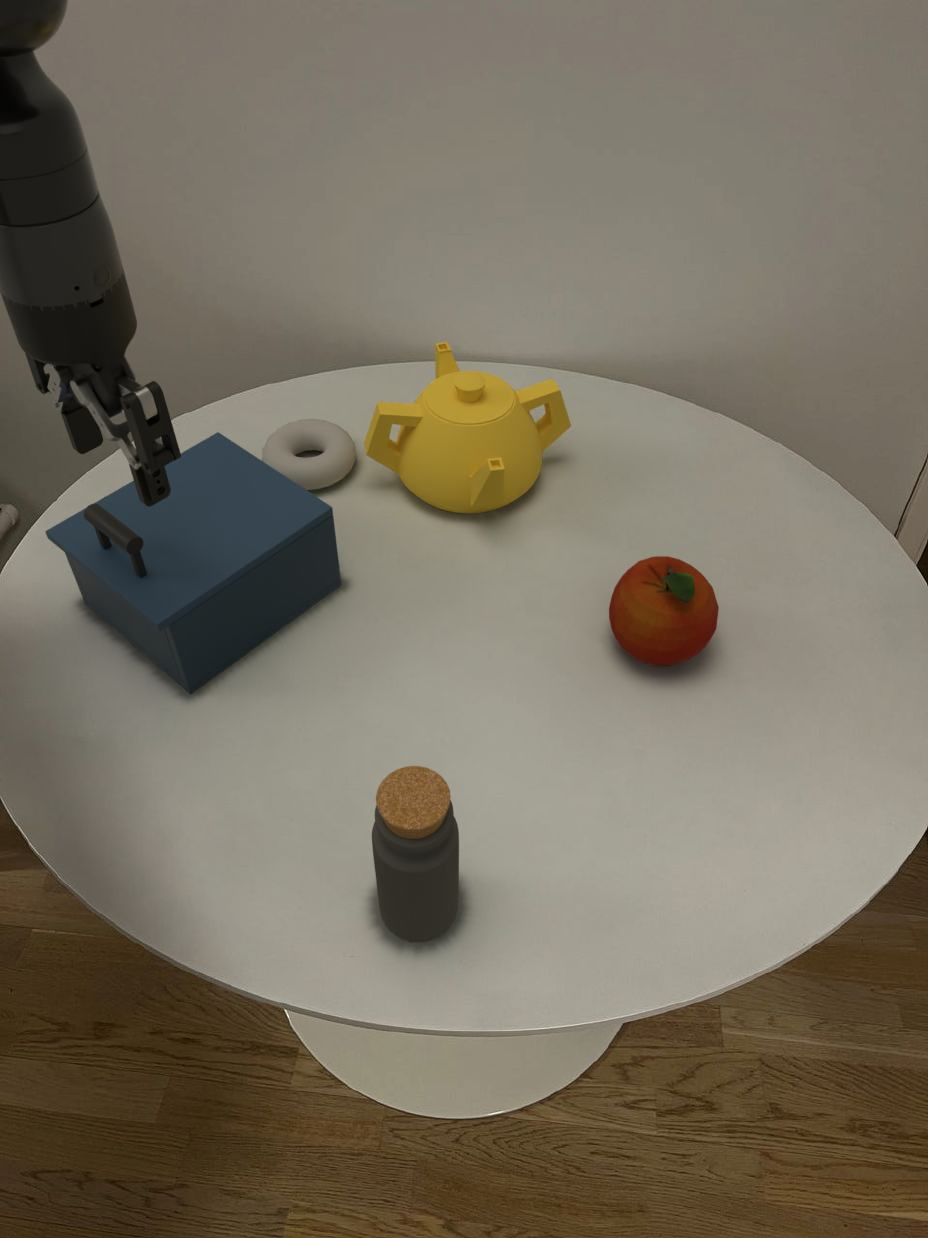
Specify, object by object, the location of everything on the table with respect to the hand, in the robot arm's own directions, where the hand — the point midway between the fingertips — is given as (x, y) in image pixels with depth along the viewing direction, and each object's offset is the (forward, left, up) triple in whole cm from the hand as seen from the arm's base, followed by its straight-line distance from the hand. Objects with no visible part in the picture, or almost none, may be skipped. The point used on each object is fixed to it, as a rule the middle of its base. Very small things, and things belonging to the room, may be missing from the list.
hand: (122, 473), depth 74 cm
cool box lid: (+7, +3, -12) cm, 14 cm away
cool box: (+8, +3, -21) cm, 23 cm away
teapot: (+36, -8, -22) cm, 42 cm away
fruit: (+25, -35, -22) cm, 48 cm away
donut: (+28, +7, -22) cm, 36 cm away
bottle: (-8, -31, -22) cm, 39 cm away
